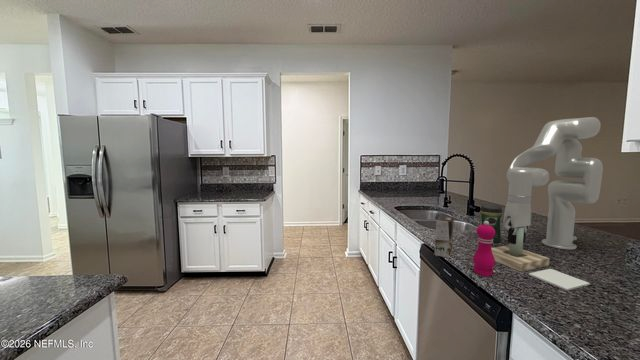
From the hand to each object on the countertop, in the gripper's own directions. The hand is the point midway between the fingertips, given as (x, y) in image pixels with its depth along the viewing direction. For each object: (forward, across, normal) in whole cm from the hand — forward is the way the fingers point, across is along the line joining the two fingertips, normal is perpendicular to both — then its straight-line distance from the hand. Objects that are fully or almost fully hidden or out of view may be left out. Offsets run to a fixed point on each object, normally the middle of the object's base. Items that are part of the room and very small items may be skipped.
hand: (516, 241), depth 112 cm
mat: (+8, +2, +17) cm, 19 cm away
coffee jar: (+8, -14, -23) cm, 28 cm away
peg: (+4, 0, 0) cm, 4 cm away
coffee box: (+8, +22, -16) cm, 29 cm away
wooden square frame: (+8, 0, 0) cm, 8 cm away
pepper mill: (+8, +22, +4) cm, 24 cm away
